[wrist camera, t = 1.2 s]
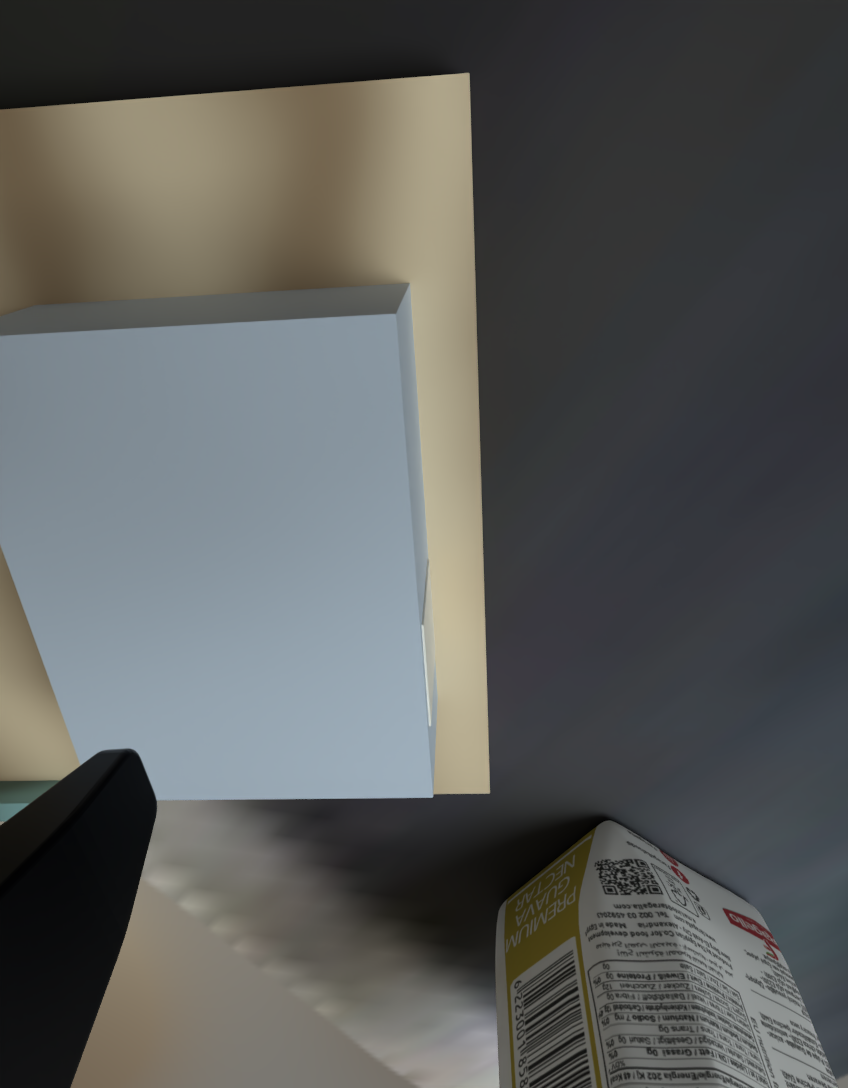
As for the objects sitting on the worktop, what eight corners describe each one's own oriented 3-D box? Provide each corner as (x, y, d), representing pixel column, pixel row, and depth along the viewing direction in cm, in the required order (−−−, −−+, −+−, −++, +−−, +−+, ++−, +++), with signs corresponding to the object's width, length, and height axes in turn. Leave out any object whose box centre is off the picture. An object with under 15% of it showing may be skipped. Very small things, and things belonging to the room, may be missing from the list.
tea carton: (411, 282, 17) (399, 313, 13) (439, 697, 22) (434, 797, 19) (32, 305, 17) (-77, 340, 14) (149, 702, 23) (91, 801, 19)
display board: (468, 79, 16) (470, 56, 13) (488, 766, 25) (492, 857, 22) (-451, 150, 18) (-661, 147, 14) (-119, 774, 27) (-201, 860, 23)
